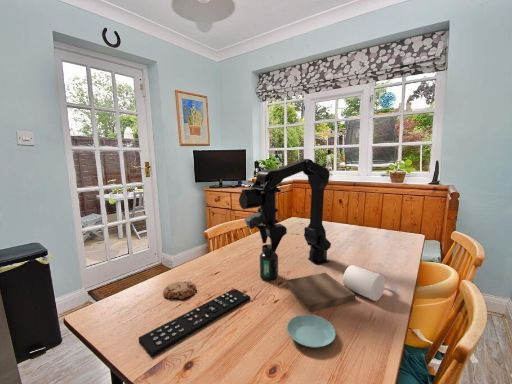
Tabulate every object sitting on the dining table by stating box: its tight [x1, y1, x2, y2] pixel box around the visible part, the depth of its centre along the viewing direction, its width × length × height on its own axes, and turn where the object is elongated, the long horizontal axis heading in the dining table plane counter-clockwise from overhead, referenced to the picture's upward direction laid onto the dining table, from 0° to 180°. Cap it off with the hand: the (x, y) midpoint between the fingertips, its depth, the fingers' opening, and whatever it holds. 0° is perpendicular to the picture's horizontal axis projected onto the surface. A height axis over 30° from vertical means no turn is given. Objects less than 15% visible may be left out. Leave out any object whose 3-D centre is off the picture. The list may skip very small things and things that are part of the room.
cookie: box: [162, 281, 197, 300], centre depth 86 cm, size 10×11×3 cm
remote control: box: [138, 288, 251, 358], centre depth 73 cm, size 8×32×2 cm, turn 136°
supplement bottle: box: [259, 243, 279, 282], centre depth 95 cm, size 7×7×12 cm
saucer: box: [286, 314, 337, 349], centre depth 64 cm, size 12×12×2 cm
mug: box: [342, 264, 386, 302], centre depth 84 cm, size 12×10×8 cm
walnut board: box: [285, 272, 356, 312], centre depth 84 cm, size 16×16×2 cm
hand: (268, 247), depth 94 cm, fingers open, 9 cm apart
